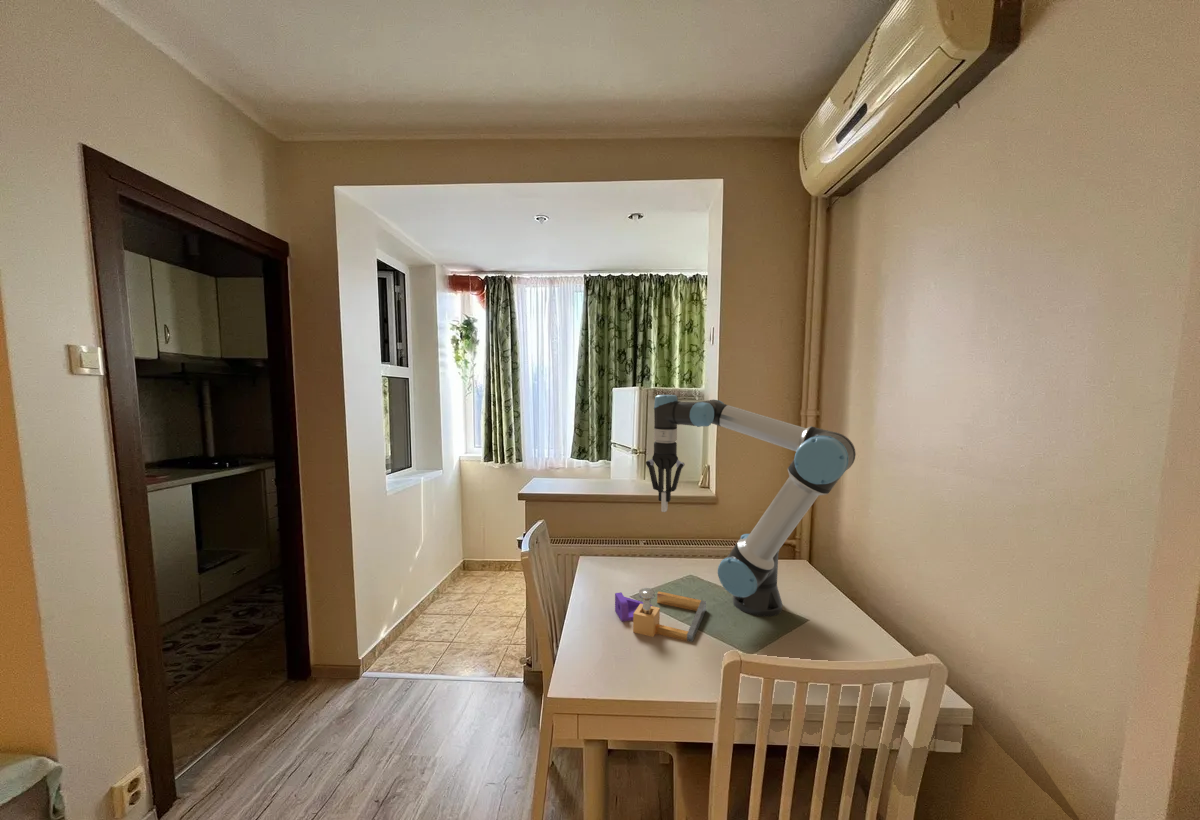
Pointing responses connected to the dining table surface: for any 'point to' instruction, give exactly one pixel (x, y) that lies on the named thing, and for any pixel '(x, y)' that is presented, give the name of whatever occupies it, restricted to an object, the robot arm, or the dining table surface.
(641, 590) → the round-headed metal pin
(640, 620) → the sleeve
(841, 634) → the dining table surface
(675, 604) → the u-shaped frame
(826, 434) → the robot arm
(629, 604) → the bracket
